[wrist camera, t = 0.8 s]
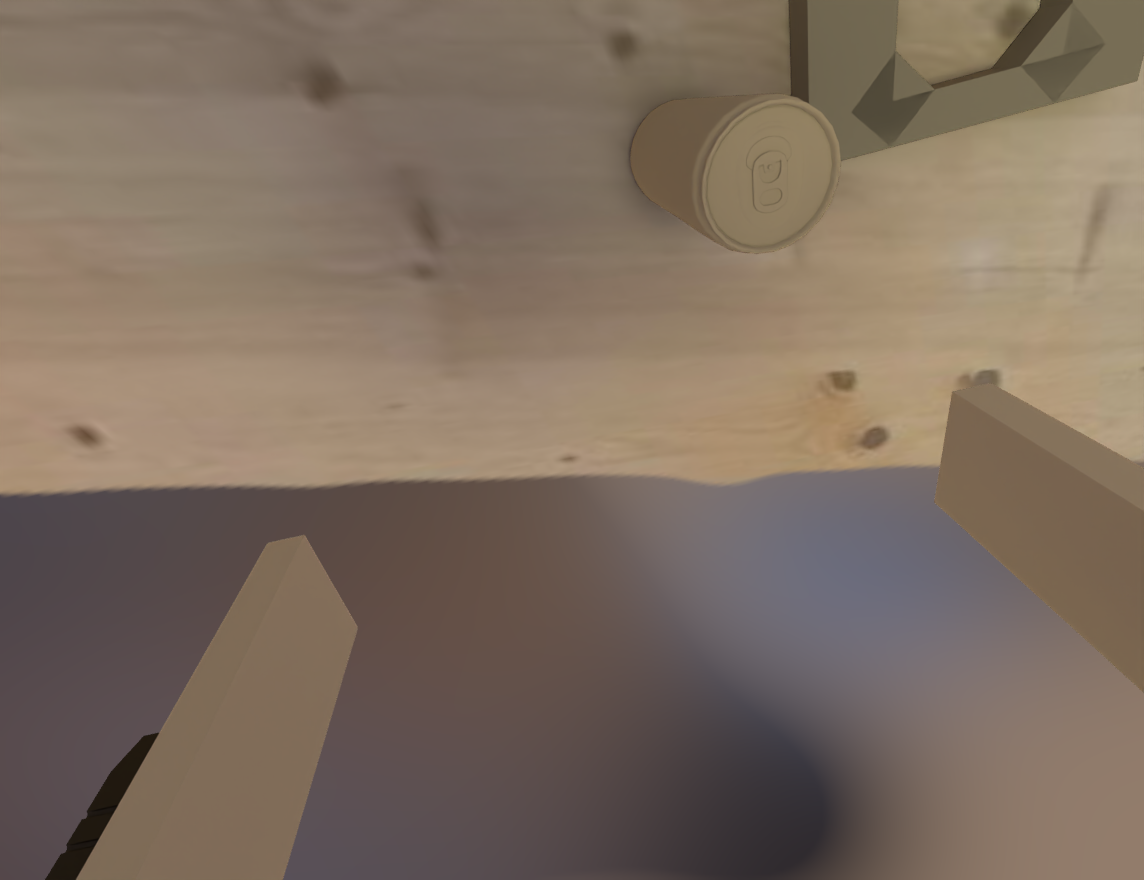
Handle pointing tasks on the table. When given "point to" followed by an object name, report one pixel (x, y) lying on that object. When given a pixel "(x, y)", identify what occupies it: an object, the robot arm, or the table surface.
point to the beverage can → (739, 167)
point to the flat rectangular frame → (919, 110)
